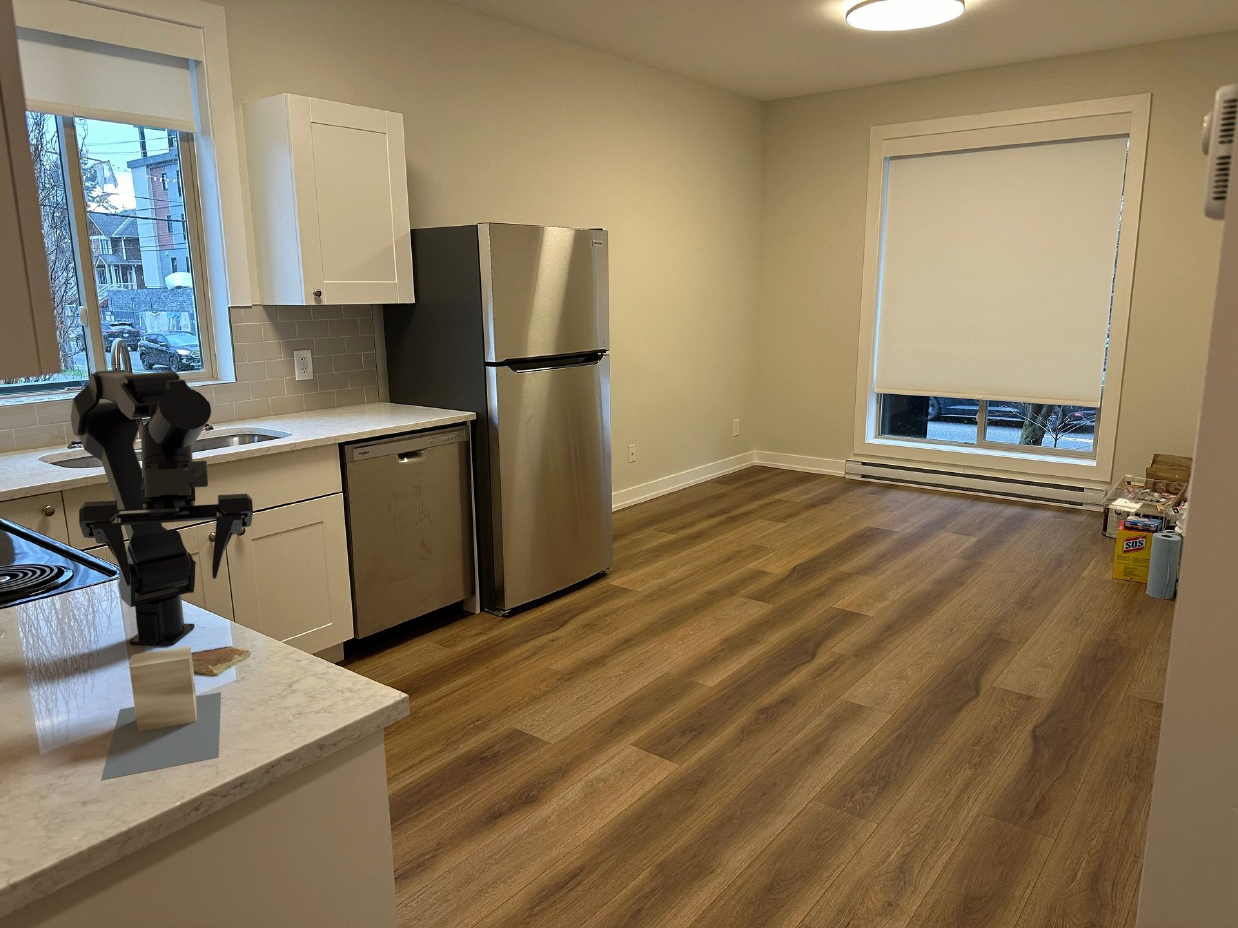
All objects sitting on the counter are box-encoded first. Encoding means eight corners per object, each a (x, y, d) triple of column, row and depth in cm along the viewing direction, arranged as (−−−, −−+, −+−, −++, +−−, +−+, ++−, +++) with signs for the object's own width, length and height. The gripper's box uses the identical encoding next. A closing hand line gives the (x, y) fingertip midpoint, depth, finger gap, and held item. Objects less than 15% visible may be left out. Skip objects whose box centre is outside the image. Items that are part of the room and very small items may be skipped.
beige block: (140, 717, 101) (132, 654, 99) (197, 707, 103) (190, 646, 102) (137, 731, 98) (129, 667, 96) (196, 721, 100) (189, 658, 98)
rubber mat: (120, 711, 103) (120, 708, 103) (221, 694, 107) (221, 691, 107) (102, 783, 89) (101, 779, 89) (218, 760, 93) (218, 756, 93)
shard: (150, 671, 115) (149, 659, 114) (194, 648, 122) (193, 636, 121) (217, 683, 112) (215, 670, 111) (257, 658, 119) (256, 646, 118)
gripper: (73, 438, 98) (73, 570, 93) (250, 434, 106) (260, 554, 101) (83, 475, 107) (84, 597, 102) (246, 469, 116) (254, 581, 110)
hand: (172, 581), depth 104 cm, fingers open, 9 cm apart
